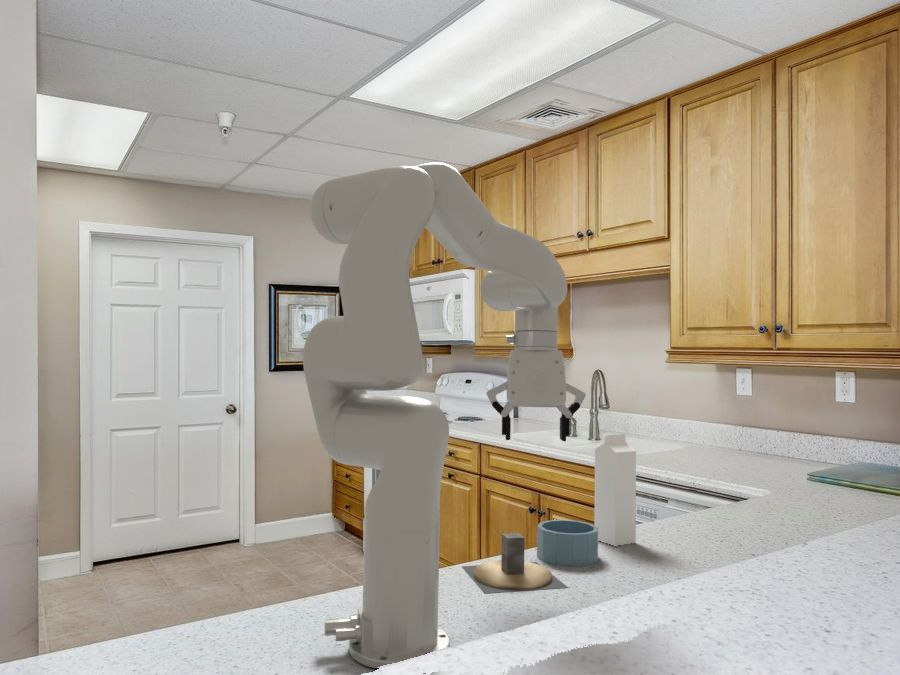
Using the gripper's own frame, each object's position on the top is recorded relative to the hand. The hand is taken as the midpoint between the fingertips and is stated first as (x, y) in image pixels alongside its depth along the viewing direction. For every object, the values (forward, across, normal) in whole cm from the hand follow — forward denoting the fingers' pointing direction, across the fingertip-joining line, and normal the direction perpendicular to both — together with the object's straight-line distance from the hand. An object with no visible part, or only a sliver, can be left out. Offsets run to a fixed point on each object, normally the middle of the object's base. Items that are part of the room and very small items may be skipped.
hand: (535, 439), depth 114 cm
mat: (+23, -4, -4) cm, 24 cm away
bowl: (+23, +7, +8) cm, 26 cm away
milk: (+23, +19, +22) cm, 37 cm away
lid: (+22, -4, -4) cm, 23 cm away
